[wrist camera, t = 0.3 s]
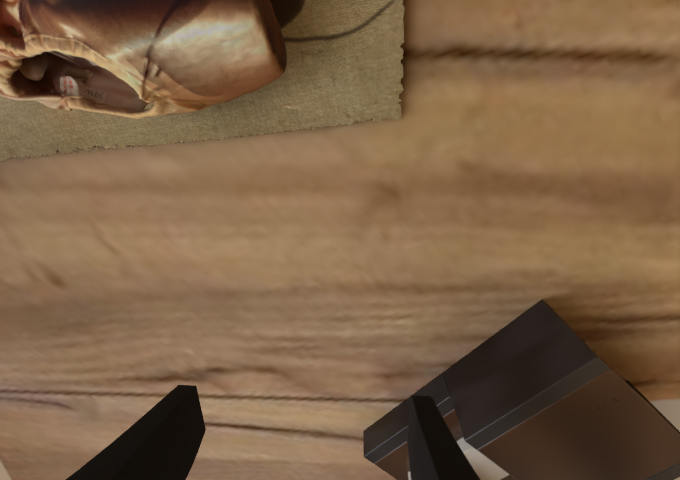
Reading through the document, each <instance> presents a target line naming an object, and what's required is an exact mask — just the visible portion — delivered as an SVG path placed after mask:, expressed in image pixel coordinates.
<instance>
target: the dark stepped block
mask: <svg viewBox="0 0 680 480" xmlns="http://www.w3.org/2000/svg"><path fill="white" fill-rule="evenodd" d="M414 395H419V396H431V397H432V398H433V399H434V401H435V403H436V405H437V407H438V409H439V411H440V413H441V415H442V417H443V419H444V421H445V422H446V424H447V426H448V428H449V430H450V431H451V433H452V435H453V437H454V438H455V440H456V441H458V440H459V439H461V438H462V437H463V438H464V441H465V442H467V443H468V444H469V445H471V446H472V447H473V448H475V449H476V450H478V451H479V452H480V453H482V454H483V455H484V456H486V457H487V458H488V459H490V460H491V461H492V462H494V463H495V464H496V465H498V466H499V467H500V468H502V469H503V470H504V471H505V472H507V473H508V474H509V475H508V476H506V477H504V478H503V479H501V480H674V479H676V478H678V477H680V432H679V431H678V430H677V429H676V428H675V427H674V426H673V425H672V424H671V423H670V422H669V421H668V420H667V419H666V418H665V417H664V416H663V415H662V414H661V413H660V412H659V411H658V410H657V409H656V408H655V407H654V406H653V405H652V404H651V403H650V402H649V401H648V400H647V399H646V398H645V397H644V396H643V395H642V394H641V393H640V392H639V391H638V390H637V389H636V388H635V387H634V386H633V385H632V384H631V383H630V382H629V381H626V382H625V381H624V380H623V379H622V378H621V377H620V376H619V375H618V374H617V373H616V372H615V371H614V370H613V369H612V368H610V367H609V366H608V365H607V364H606V363H605V362H604V361H603V360H602V359H601V358H600V357H599V356H598V355H597V354H596V353H595V352H594V351H593V350H592V349H591V348H590V347H589V346H588V345H587V344H586V343H585V342H584V341H583V340H582V339H581V338H580V337H579V336H578V335H577V334H576V333H575V332H574V331H573V330H572V329H571V328H570V327H569V326H568V324H567V323H566V322H565V321H564V320H563V319H562V318H561V317H560V316H559V315H558V314H557V313H556V312H555V311H554V310H553V309H552V308H551V307H550V306H549V305H548V304H547V303H546V302H544V301H543V300H541V301H540V302H538V303H537V304H536V305H534V306H533V307H532V308H530V309H529V310H528V311H526V312H525V313H523V314H522V315H521V316H519V317H518V318H517V319H515V320H514V321H513V322H511V323H510V324H509V325H507V326H506V327H505V328H503V329H502V330H500V331H499V332H498V333H496V334H495V335H494V336H492V337H491V338H490V339H488V340H487V341H486V342H484V343H483V344H481V345H480V346H479V347H477V348H476V349H475V350H473V351H472V352H471V353H469V354H468V355H467V356H465V357H464V358H462V359H461V360H460V361H458V362H457V363H456V364H454V365H453V366H452V367H450V368H449V369H448V370H446V371H445V372H444V373H442V374H441V375H439V376H438V377H437V378H435V379H434V380H433V381H431V382H430V383H429V384H427V385H426V386H424V387H423V388H422V389H420V390H419V391H418V392H416V393H415V394H414ZM410 405H411V397H410V398H408V399H407V400H405V401H404V402H403V403H401V404H400V405H399V406H397V407H396V408H395V409H393V410H392V411H391V412H389V413H388V414H387V415H385V416H384V417H382V418H381V419H380V420H378V421H377V422H376V423H374V424H373V425H372V426H370V427H369V428H368V429H366V430H365V431H364V457H365V458H366V459H368V460H369V461H371V462H372V463H374V464H375V465H377V466H378V467H380V468H381V469H383V470H384V471H386V472H387V473H388V474H390V475H391V476H393V477H394V478H396V479H397V480H409V479H408V472H409V471H410V464H409V454H408V444H407V437H408V426H409V415H410Z"/></svg>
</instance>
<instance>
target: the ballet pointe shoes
mask: <svg viewBox="0 0 680 480" xmlns="http://www.w3.org/2000/svg"><path fill="white" fill-rule="evenodd" d="M402 3H403V0H0V160H2V161H4V160H8V157H9V156H10V157H12V158H13V157H14V156H15V157H16V158H24V156H25V155H28V156H29V158H30V157H31V156H32V157H34V158H35V157H40V156H41V154H42V155H44V154H45V155H46V156H48V155H50V154H52V155H54V154H57V153H56V149H57V150H59V151H60V152H63V153H70V154H71V152H73V151H75V152H76V153H78V151H77V150H76V148H78V149H80V150H81V148H83V149H84V150H85V151H87V152H90V150H89V149H91V148H92V146H93V147H95V145H96V146H98V145H99V146H103V147H104V148H105V149H109V148H112V149H116V146H115V144H116V145H118V146H119V147H120V148H122V149H123V148H124V147H125V146H129V144H130V145H132V147H134V146H135V145H138V147H139V146H140V144H142V145H144V146H148V145H149V144H150V145H151V146H154V145H156V144H159V145H160V144H164V143H166V144H168V143H173V142H175V143H177V142H178V143H180V142H181V141H182V142H183V143H184V142H191V141H193V142H194V140H195V141H197V140H202V141H205V139H208V140H210V139H213V138H214V137H216V138H217V140H219V139H222V138H223V139H226V138H227V137H228V139H229V138H231V137H237V136H240V137H243V136H244V135H245V134H246V135H248V136H253V135H254V134H255V135H259V134H261V133H263V134H264V135H265V134H268V133H274V131H275V132H277V133H280V132H282V131H286V129H288V130H289V131H294V130H297V128H299V130H302V129H304V130H308V128H309V127H311V130H312V129H314V130H315V129H316V128H317V126H318V127H319V128H320V127H322V128H323V127H326V125H327V126H328V127H329V126H335V127H338V124H340V125H341V126H343V125H345V124H346V126H350V125H351V124H352V123H353V122H354V121H359V122H363V121H365V120H368V119H372V121H373V122H377V121H379V120H380V119H382V118H383V119H386V118H389V119H391V120H399V119H400V118H401V105H400V104H399V103H398V102H399V101H401V100H400V99H398V96H399V94H401V93H403V92H402V90H405V89H403V88H402V85H401V83H400V81H401V77H403V71H404V70H403V65H402V64H401V63H400V62H401V59H403V53H404V50H403V49H402V48H401V47H400V46H401V44H402V43H403V42H404V40H403V38H404V34H403V33H404V28H403V26H404V22H403V16H404V13H405V11H404V8H405V6H403V5H402ZM95 150H96V151H99V148H98V147H95Z"/></svg>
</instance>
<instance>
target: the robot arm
mask: <svg viewBox="0 0 680 480" xmlns="http://www.w3.org/2000/svg"><path fill="white" fill-rule="evenodd" d="M205 430H206V429H205V425H204V420H203V415H202V411H201V406H200V402H199V397H198V392H197V388H196V386H189V385H178V386H177V387H176V388H175V389H174V390H172V391H171V392H170V393H169V394H168V395H167V396H165V397H164V398H163V399H162V400H161V401H160V402H159V403H158V404H156V405H155V406H154V407H153V408H152V409H151V410H150V411H148V412H147V413H146V414H145V415H144V416H143V417H142V418H140V419H139V420H138V421H137V422H136V423H135V424H134V425H132V426H131V427H130V428H129V429H128V430H127V431H125V432H124V433H123V434H122V435H121V436H120V437H118V438H117V439H116V440H115V441H114V442H113V443H111V444H110V445H109V446H108V447H106V448H105V449H104V450H103V451H101V452H100V453H99V454H98V455H96V456H95V457H94V458H93V459H91V460H90V461H89V462H88V463H86V464H85V465H84V466H83V467H82V468H80V469H79V470H78V471H77V472H75V473H74V474H73V475H71V476H70V477H69V478H67V479H66V480H185V479H186V477H187V475H188V473H189V471H190V469H191V467H192V465H193V463H194V460H195V457H196V455H197V452H198V450H199V447H200V444H201V441H202V439H203V436H204V433H205ZM407 444H408V454H409V464H410V474H411V480H480V478H479V477H478V475H477V474H476V472H475V471H474V469H473V467H472V466H471V464H470V463H469V461H468V459H467V458H466V456H465V455H464V453H463V451H462V450H461V448H460V447H459V445H458V443H457V442H456V440H455V438H454V437H453V435H452V433H451V431H450V430H449V428H448V426H447V424H446V422H445V421H444V419H443V417H442V415H441V413H440V411H439V409H438V407H437V405H436V403H435V401H434V399H433V398H432V397H431V396H419V395H411V405H410V415H409V426H408V437H407Z"/></svg>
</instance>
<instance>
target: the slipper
mask: <svg viewBox="0 0 680 480" xmlns="http://www.w3.org/2000/svg"><path fill="white" fill-rule="evenodd" d="M456 442H457V443H458V445H459V447H460V448H461V450H462V451H463V453H464V455H465V456H466V458H467V459H468V461H469V463H470V464H471V466H472V467H473V469H474V471H475V472H476V474H477V475H478V477H479V478H480V480H501V479H503V478H504V477H506V476H508V475H509V474H508V473H507V472H505V471H504V470H503V469H502V468H500V467H499V466H498V465H496V464H495V463H494V462H492V461H491V460H490V459H488V458H487V457H486V456H484V455H483V454H482V453H480V452H479V451H478V450H476V449H475V448H473V447H472V446H471V445H469V444H468V443H467V442H465V441H464V438H463V437H462V438H461V439H459V440H458V441H456ZM408 479H409V480H411V474H410V471H409V472H408Z"/></svg>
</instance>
